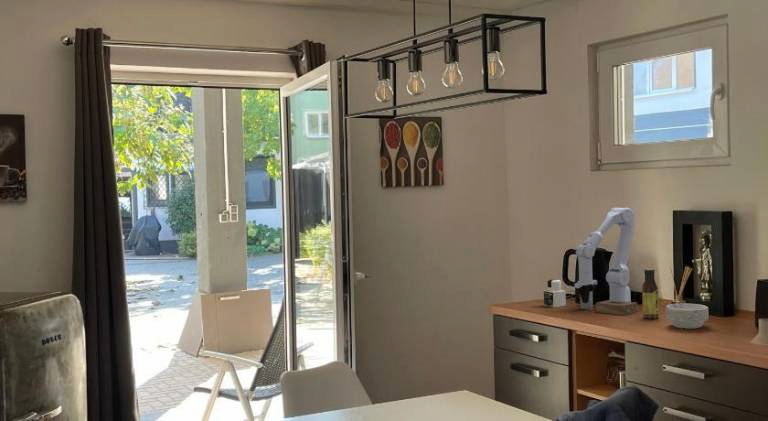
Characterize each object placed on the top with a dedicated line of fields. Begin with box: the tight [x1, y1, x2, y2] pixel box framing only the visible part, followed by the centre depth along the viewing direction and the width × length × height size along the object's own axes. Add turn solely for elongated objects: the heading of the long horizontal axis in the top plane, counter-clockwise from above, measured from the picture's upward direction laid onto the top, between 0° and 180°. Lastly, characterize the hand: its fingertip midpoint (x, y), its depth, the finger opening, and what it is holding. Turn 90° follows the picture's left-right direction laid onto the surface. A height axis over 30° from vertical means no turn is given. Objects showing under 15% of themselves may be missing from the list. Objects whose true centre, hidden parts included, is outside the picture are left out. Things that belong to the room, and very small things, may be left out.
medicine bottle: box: [543, 278, 567, 308], centre depth 381 cm, size 7×7×12 cm
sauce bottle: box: [641, 268, 660, 319], centre depth 340 cm, size 6×6×20 cm
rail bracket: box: [579, 291, 594, 311], centre depth 369 cm, size 2×5×8 cm, turn 43°
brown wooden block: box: [595, 299, 638, 316], centre depth 358 cm, size 10×14×4 cm
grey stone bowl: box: [665, 303, 709, 330], centre depth 318 cm, size 15×15×8 cm
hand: (586, 302), depth 369 cm, fingers closed on rail bracket, 2 cm apart
